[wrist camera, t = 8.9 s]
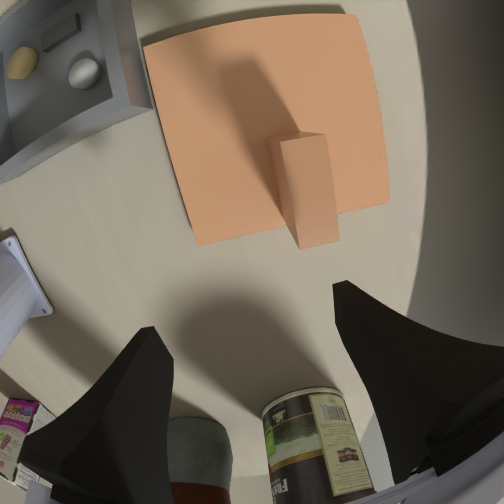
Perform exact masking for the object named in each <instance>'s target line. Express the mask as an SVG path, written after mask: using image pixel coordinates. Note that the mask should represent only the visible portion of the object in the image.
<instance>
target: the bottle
mask: <svg viewBox="0 0 504 504" xmlns="http://www.w3.org/2000/svg"><path fill="white" fill-rule="evenodd" d="M167 456H168V470H169V478H170V485H171V492H172V497H173V501H174V504H231V501H230V494H229V489H230V481H231V474H232V463H233V456H232V450H231V445H230V440H229V437H228V434H227V432H226V429H225V428H224V427H223V426H222V425H221V424H219V423H217V422H215V421H211V420H208V419H204V418H197V417H180V418H175V419H172V420H170V421H169V422H168V426H167Z"/></svg>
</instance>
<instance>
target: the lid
mask: <svg viewBox="0 0 504 504" xmlns="http://www.w3.org/2000/svg"><path fill="white" fill-rule="evenodd" d="M143 50H144V54H145V59H146V63H147V68H148V72H149V76H150V81H151V85H152V89H153V93H154V97H155V101H156V105H157V109H158V113H159V117H160V121H161V124H162V128H163V132H164V135H165V139H166V143H167V146H168V150H169V153H170V157H171V160H172V164H173V167H174V171H175V174H176V177H177V181H178V184H179V187H180V191H181V194H182V197H183V200H184V204H185V207H186V210H187V213H188V216H189V219H190V223H191V226H192V229H193V232H194V235H195V238H196V241H197V244H198V246H201V245H205V244H209V243H213V242H217V241H221V240H225V239H229V238H234V237H238V236H242V235H246V234H250V233H254V232H259V231H263V230H267V229H272V228H276V227H280V226H284V225H287V227H288V229H289V230H290V232H291V234H292V236H293V238H294V240H295V242H296V244H297V246H298V247H299V249H300V250H302V249H306V248H311V247H315V246H319V245H323V244H327V243H331V242H335V241H340V236H339V226H338V216H337V214H338V213H342V212H347V211H351V210H356V209H361V208H365V207H370V206H375V205H379V204H384V203H389V202H390V197H389V180H388V167H387V157H386V147H385V139H384V132H383V125H382V118H381V112H380V106H379V101H378V95H377V90H376V85H375V81H374V76H373V72H372V67H371V63H370V59H369V55H368V52H367V48H366V44H365V41H364V37H363V34H362V31H361V27H360V24H359V21H358V18H357V15H354V14H293V15H279V16H270V17H261V18H254V19H247V20H241V21H235V22H230V23H225V24H220V25H215V26H211V27H207V28H203V29H199V30H195V31H191V32H188V33H184V34H181V35H177V36H174V37H171V38H168V39H165V40H162V41H159V42H156V43H153V44H151V45H148V46H145V47H143Z"/></svg>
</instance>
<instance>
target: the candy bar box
mask: <svg viewBox="0 0 504 504" xmlns="http://www.w3.org/2000/svg"><path fill="white" fill-rule="evenodd" d="M54 419H56V417H55V415H54V414H52V413H51V412H50V411H49V410H48V409H47V408H46V407H44V406H43V405H42V404H41V403H40V402H39V401H30V400H21V399H14V398H9V400H8V402H7V405H6V407H5V409H4V411H3V414H2V416H1V419H0V477H2V478H3V479H5V480H7V481H8V482H10V483H11V484H13V485H15V486H17V487H19V488H21V489H23V490H24V491H26V492H27V489H28V485H29V481H30V480H34V481H36V482H39V478H40V476H38V475H37V474H35V473H34V472H32V471H31V470H29V469H28V468H26V467H25V466H24V465H22V464H21V463H20V462H19V460H18V456H19V453H20V449H21V447H22V444H23V441H24V438H25V436H27V435H29V434H31V433H33V432H34V431H36V430H38V429H40V428H42V427H43V426H45V425H47V424H48V423H50V422H51V421H53V420H54Z"/></svg>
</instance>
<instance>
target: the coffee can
mask: <svg viewBox="0 0 504 504" xmlns="http://www.w3.org/2000/svg"><path fill="white" fill-rule="evenodd" d="M261 418H262V421H263V428H264V436H265V444H266V452H267V459H268V467H269V475H270V482H271V490H272V497H273V504H345V503H348V502H352V501H355V500H358V499H361V498H364V497H367V496H369V495H372V494H375V493H377V492H376V491H375V490H374V486H373V483H372V480H371V477H370V474H369V470H368V468H367V464H366V461H365V458H364V455H363V453H362V449H361V446H360V443H359V440H358V437H357V435H356V432H355V429H354V426H353V423H352V420H351V418H350V415H349V412H348V409H347V406H346V403H345V399H344V396H343V394H342V393H341V392H340V391H338V390H336V389H332V388H326V387H316V388H307V389H303V390H298V391H295V392H291V393H288V394H286V395H283V396H281V397H279V398H277V399H275V400H274V401H272V402H271V403H270V404H268V405H267V406H266V407H265V409H264V410H263V412H262V415H261Z"/></svg>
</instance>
